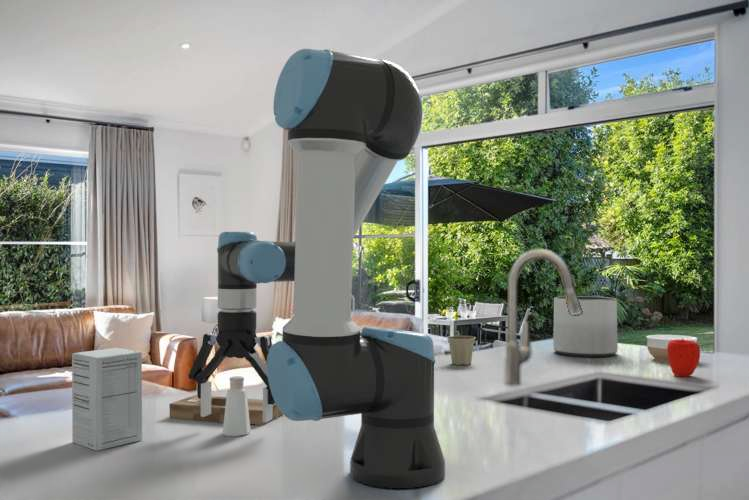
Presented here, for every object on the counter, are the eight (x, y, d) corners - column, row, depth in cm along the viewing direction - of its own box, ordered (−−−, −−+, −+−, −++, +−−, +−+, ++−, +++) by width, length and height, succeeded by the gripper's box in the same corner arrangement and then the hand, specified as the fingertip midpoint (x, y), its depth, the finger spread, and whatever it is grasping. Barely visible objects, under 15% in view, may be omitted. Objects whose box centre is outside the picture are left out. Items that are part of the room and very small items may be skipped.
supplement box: (117, 432, 136) (117, 347, 136) (143, 440, 130) (144, 351, 131) (70, 442, 129) (70, 352, 129) (95, 451, 123) (96, 356, 123)
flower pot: (444, 365, 221) (444, 338, 221) (449, 361, 230) (449, 335, 230) (473, 366, 219) (473, 339, 219) (477, 362, 228) (477, 336, 228)
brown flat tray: (262, 425, 142) (262, 409, 142) (169, 417, 149) (169, 402, 149) (282, 414, 152) (282, 400, 152) (195, 408, 158) (195, 394, 158)
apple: (706, 377, 200) (706, 340, 200) (683, 379, 197) (683, 341, 197) (682, 372, 208) (682, 336, 208) (660, 374, 205) (660, 337, 205)
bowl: (635, 358, 238) (635, 335, 238) (674, 356, 243) (674, 333, 243) (668, 365, 223) (668, 340, 223) (708, 363, 228) (708, 338, 228)
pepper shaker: (223, 437, 133) (223, 380, 133) (221, 430, 138) (221, 375, 138) (251, 435, 134) (252, 378, 134) (249, 429, 139) (249, 374, 139)
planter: (576, 348, 265) (576, 295, 265) (629, 354, 248) (629, 298, 248) (540, 353, 251) (540, 297, 251) (595, 360, 234) (595, 300, 234)
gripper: (303, 310, 136) (302, 418, 136) (192, 306, 144) (191, 409, 144) (287, 313, 129) (286, 427, 129) (171, 309, 136) (170, 417, 136)
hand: (236, 418), depth 136 cm, fingers open, 13 cm apart
